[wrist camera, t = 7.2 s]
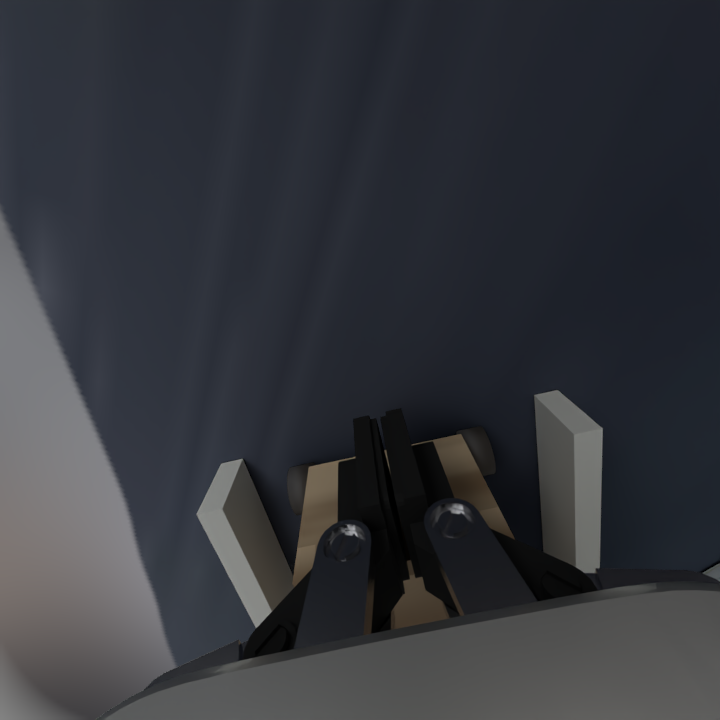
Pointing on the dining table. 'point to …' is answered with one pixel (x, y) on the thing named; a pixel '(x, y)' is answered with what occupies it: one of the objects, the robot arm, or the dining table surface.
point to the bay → (557, 497)
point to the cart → (465, 475)
